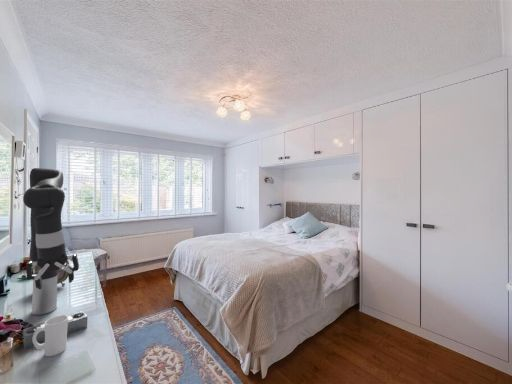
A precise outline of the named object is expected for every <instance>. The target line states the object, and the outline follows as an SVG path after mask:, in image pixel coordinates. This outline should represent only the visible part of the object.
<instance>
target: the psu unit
mask: <svg viewBox="0 0 512 384" xmlns="http://www.w3.org/2000/svg"><path fill="white" fill-rule="evenodd" d="M67 316H68V326H67V335H70V334H72V333H75V332H78V331H80V330H84V329H86V327H87V328H88V315H87V314H86V312H85V311H84V310H81V311H78V312H74V313H72V314H69V315H67ZM44 326H45V322H43V323H39V324H36V325H33V326H30V327H26V328H23V329H22V344H23V348H24V350H27V349H31V348H34V347H35V346H34V344H33V341H32V338H33V335H34V333H35V331H36V329H37V327H44ZM23 338H24V339H23ZM36 340H37V342H38V343H39V344H43V343H44V342H45V331H40V332H39V333H38V334H37V336H36Z"/></svg>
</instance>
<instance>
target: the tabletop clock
mask: <svg viewBox="0 0 512 384" xmlns="http://www.w3.org/2000/svg"><path fill="white" fill-rule="evenodd" d="M66 263H67V264H69V265H70V262H69V259H68V260H67V261H66ZM63 268H64V267H63ZM40 269H41V267H39V266H38V265H35V267H34V269H33V274H34V273H35V272H36V271H38V270H40ZM68 279H69V278H68V272H66V271H64V270H62V269H61V268H60V269H59V270H58V274H57V285H59V284H61V286H62V287H64V286H65V285H66V284H65V283H64V282H66V281H67V280H68Z"/></svg>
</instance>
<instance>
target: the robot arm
mask: <svg viewBox="0 0 512 384" xmlns="http://www.w3.org/2000/svg"><path fill="white" fill-rule="evenodd" d="M63 185H64V174H63V172H62V170H59V169H54V168H44V167H41V168H40V167H33V168H31V170H30V172H29V188H28V189H27V190H26V191H25V192H24V194H23V198H22V201H23V204H24V205H25V207H27V208H28V209H30V218H29V219H30V220H29V221H30V246H29V261H27V263H26V265H25V270H26V280H27V281H31V280H32V296H31V297H32V299H31V301H32V304H31V314H32V315H33V316H39V315H45V314H49V313H51V312H53V311H55V310H57V304H58V303H57V302H58V284H57V274H58V270H59V269H60V268H61V269H62V270H64V271H66V272H68V278H67V279H68V283H69V284H70V283H72V282H73V281H74V278H75V274H74V272H76V271H79V268H80V264H79V260H78V259H79V258H78V254H77V253H73V254H71V255H68V254H66V251H67V250H66V246H65V245H66V244H65V243H66V242H65V235H64V231H63V226H62V212H63V206H64V202H65V199H66V198H65V197H66V195H65V192H64V190H63V189H62V187H63ZM67 260H68V261H70V262H72V264H73V267H72V265H70V263H69V264H67V263H66V261H67ZM36 265H38V266H39V267H41V269H40V270H38V271H36V272H35V273H34V269H35V266H36ZM63 267H64V268H63Z"/></svg>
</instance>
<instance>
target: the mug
mask: <svg viewBox="0 0 512 384" xmlns="http://www.w3.org/2000/svg"><path fill="white" fill-rule="evenodd" d="M44 323H45V326H44V327H37V329H36V331H35V333H34V335H33V338H32V341H33V344H34V347H35V348H36V350H37V351H38V350H40V349H44V355H45V356H46V357H54V356H58V355H59V354H62V353H63V352H64V351H65V350H66V349H67V341H68V339H67V338H68V334H67V326H68V315H65V314H62V315H55V316H53V317H50V318H48V319H47V320H46V321H45V322H44ZM40 331H45V342H44V343H42V344H39V343H38V342H37V340H36V336H37V334H38V333H39V332H40Z"/></svg>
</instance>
